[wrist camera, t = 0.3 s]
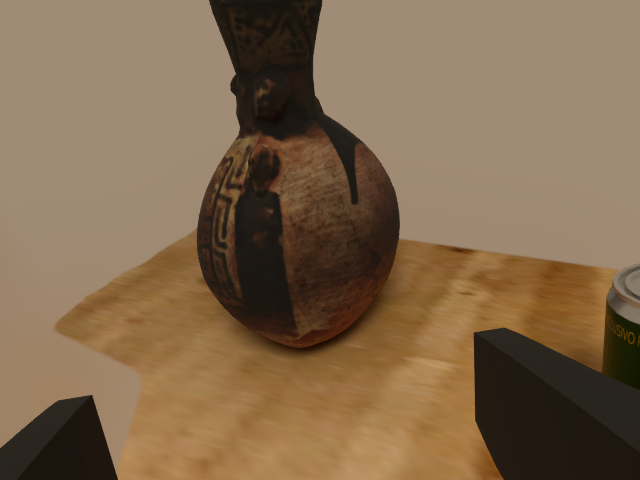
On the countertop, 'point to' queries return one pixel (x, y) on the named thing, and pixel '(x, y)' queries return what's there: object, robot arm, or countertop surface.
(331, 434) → the countertop surface
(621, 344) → the beer can
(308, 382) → the countertop surface
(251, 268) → the ceramic vessel
